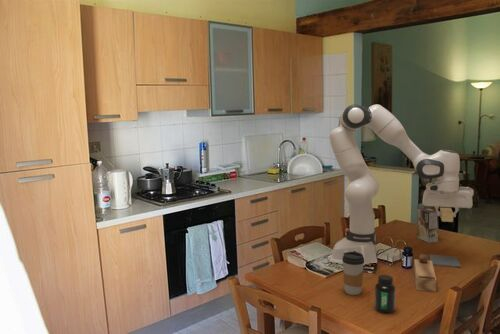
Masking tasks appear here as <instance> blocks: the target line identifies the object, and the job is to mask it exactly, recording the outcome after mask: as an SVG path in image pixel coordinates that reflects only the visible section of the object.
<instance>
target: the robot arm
mask: <svg viewBox="0 0 500 334" xmlns="http://www.w3.org/2000/svg"><path fill="white" fill-rule="evenodd" d="M363 127H367V128H369V129H371V130H372V131H373V132H374V133H375V134H376V136H377V137H378V138H380V139H381V141H383V142H385V143H387V144H388V145H391V146H394V147H396V148H398V149H399V150H400V151H402V152H403V154H404V155H405V156H406V157H408V159H409V160H410V161H411V163H412V165H413V168H414V170H415V172H416V174H417V176H419V177H420V178H421V179H425V180H430V179H436V181H432V182H428V183H426V185H425V190H424V191H423V195H422V205H423V207H434V210H436V211H437V216H439V217H440V216H441V212H440V207H441V208H454V209H455V210H454V212H453V213H454V214H453V218H456V216H457V213H458V212H459V210H460V209H471V208H472V207H473V202H474V201H473V197H474V193H475V191H474V189H473V188H472V187H470V186H459V185H460V178H459V177H460V176H459V175H460V174H459V173H460V170H461V169H460V168H461V164H460V163H461V160H460V159H461V158H460V155H459V153H458V152H457V151H455V150H451V149H445V148H444V149H440V150H439V151H437V152H435V153H434V154H429V153H426V152H425V151H422V149H420V148H419V147H418V146H417V145H416V144H415V143H414V142H413V141H412V140H411V139H410V138H409V135H408V134H407V131H406V129H405V128H404V126H403V125H402V123H401V121H399V120H398V119H397V118H396V116H395V115H394V114H392V112H390V111H389V110H388V109H386V108H385V107H383V106H382V105H381V104H373V105H370V106H369V107H366V106H363V105H359V104H351V105H348V106H347V107H346V108H345V109H343V111H342V112H341V114H340V116H339V120H338V127H335V128H333V129H332V131H331V132H330V133H329V140H330V145H331V148H332V151H333V154H334V157H335V160H336V161H337V163H338V166H339V170H341V173H343V174H345V176H346V177H347V179H348V181H349V182H350V183H348V184H347V186H346V188H345V191H344V197H345V199H346V201H347V207H348V210H349V211H348V212H349V228H348V227H346V228H345V229H344V237H343V238H342V239H340V240H339V241H337V242H336V243H335V244H334V246H333V249H332V251H333V253H332V255H330V256H328V255H327V261H328V260H329V261H328V262H329V263H331V262H332V263H331V264H336V263H338V264H337V265H342V264H343V261H342V259H343V256H344V253H346V252H358V253H361V254H362V255H363V257H364V265H365V264H369V263H376V264H377V263H378V258H377V252H376V245H375V244H376V241H377V240H376V239H377V236H376V234H377V233H376V230H375V223H376V222H375V217H376V215H375V212H374V207H373V198H374V197H376V196H377V194H378V193H379V189H380V183H379V181H378V179H377V178H376V177H375V176H374V175H373V173H372V171H371V170H370V168H369V166H368V165H367V164H366V162H365V160H364V157H363V155H362V153H361V150H360V148H359V145H358V143H357V140H356V138H355V132H356V131H358V130H360V129H361V128H363Z"/></svg>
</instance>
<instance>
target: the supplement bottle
mask: <svg viewBox="0 0 500 334" xmlns="http://www.w3.org/2000/svg"><path fill="white" fill-rule="evenodd" d="M374 309H375V310H376V311H377V312H379V313H383V314H392V313H394V311H395V310H396V286H395V285H394V280H393V276H391V275H389V274H379V275H378V278H377V283H376V284H375V286H374Z"/></svg>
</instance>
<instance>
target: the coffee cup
mask: <svg viewBox="0 0 500 334" xmlns="http://www.w3.org/2000/svg"><path fill="white" fill-rule="evenodd" d="M342 261H343V265H342V266H343V267H342V268H343V269H342V273H343V274H342V275H343V276H342V277H343V286H344V292H345V293H346V294H347V295H350V296H358V295H360V294H361V292H362V286H363V280H364V279H363V277H364V267H363V266H364V257H363V255H362V254H361V253H358V252H346V253H344V256H343V259H342Z"/></svg>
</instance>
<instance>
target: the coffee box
mask: <svg viewBox="0 0 500 334" xmlns="http://www.w3.org/2000/svg"><path fill="white" fill-rule="evenodd" d="M439 217H440V216H437V211H436V209H433V208H430V207H429V208H428V207H421V208H418V209H417V232H416V235H417V236H416V237H417V239H418V240H420V241H424V242H426V243H428V244H429V243H436V242H438V241H439V238H438V237H439V223H440V222H439V221H440V220H439Z"/></svg>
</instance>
